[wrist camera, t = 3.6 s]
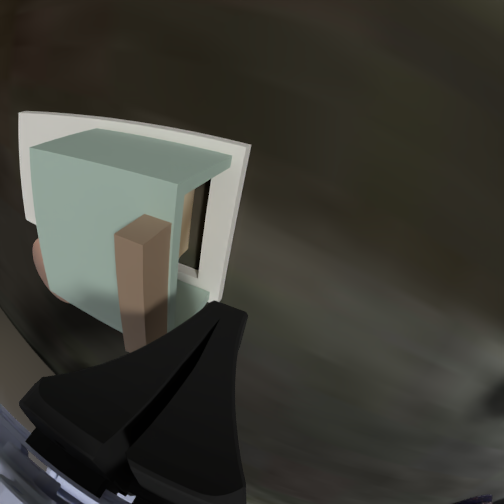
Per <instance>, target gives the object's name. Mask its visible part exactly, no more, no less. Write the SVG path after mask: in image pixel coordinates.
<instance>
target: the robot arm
mask: <svg viewBox="0 0 504 504" xmlns="http://www.w3.org/2000/svg"><path fill="white" fill-rule="evenodd" d="M247 318H248V315H247V313H246V312H244V311H241V310H239V309H236V308H233V307H231V306H228V305H226V304H223V303H220V302H218V301H215V300H214V301H211V302H210V303H209V304H208V305H206V306H205V307H204V308H203V309H201V310H200V311H199V312H197V313H196V314H195V315H193V316H192V317H191V318H189V319H188V320H186V321H185V322H183V323H182V324H180V325H179V326H177V327H176V328H174V329H173V330H171V331H170V332H168V333H166V334H165V335H163V336H161V337H160V338H158V339H156V340H154V341H153V342H151V343H149V344H147V345H145V346H143V347H141V348H139V349H137V350H135V351H133V352H131V353H129V354H126V355H124V356H121V357H119V358H116V359H114V360H111V361H109V362H106V363H103V364H100V365H97V366H93V367H90V368H86V369H82V370H79V371H75V372H71V373H65V374H60V375H54V376H48V377H42V378H41V379H40V380H39V381H38V382H37V383H35V384H34V386H33V387H32V388H31V389H30V390H29V391H28V392H27V394H26V395H25V396H24V397H23V398H22V399H21V400H20V402H19V406H20V408H21V409H22V410H23V412H24V413H25V414H26V416H27V417H28V418H29V419H30V421H31V422H32V423H33V424H34V425H35V427H36V429H35V430H34V431H33V432H32V433H30V432H29V431H28V430H27V429H26V428H25V427H24V426H22V425H21V424H20V423H19V422H18V421H17V420H16V419H15V418H14V417H13V416H12V415H11V414H10V413H9V412H8V411H7V410H6V409H5V408H4V407H3V406H2V405H1V404H0V504H246V482H245V478H244V473H243V468H242V463H241V457H240V451H239V445H238V435H237V426H236V413H235V374H236V361H237V353H238V350H239V347H240V344H241V340H242V336H243V333H244V329H245V325H246V321H247ZM27 449H28V450H29V451H30V452H31V453H32V454H33V455H34V456H36V457H37V458H38V459H39V460H40V461H41V462H43V463H44V464H45V465H46V466H47V471H46V472H45V471H44V470H43V469H41V468H40V467H39V466H38V465H37V464H35V463H34V462H33V461H32V460H31V459H30V458H29V457H28V450H27Z"/></svg>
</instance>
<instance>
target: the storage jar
mask: <svg viewBox="0 0 504 504" xmlns="http://www.w3.org/2000/svg"><path fill="white" fill-rule="evenodd" d="M455 504H493V503H492V495H481V496H477V497H473V498H470V499H466V500H463V501H460V502H458V503H455Z"/></svg>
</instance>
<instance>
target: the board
mask: <svg viewBox="0 0 504 504" xmlns="http://www.w3.org/2000/svg"><path fill="white" fill-rule="evenodd" d="M95 128H99V129H105V130H112V131H118V132H124V133H129V134H135V135H141V136H146V137H151V138H156V139H161V140H166V141H171V142H176V143H181V144H185V145H190V146H194V147H199V148H203V149H207V150H212V151H216V152H220V153H224V154H228V155H232V161H231V166H230V168H228V169H227V170H225V171H223V172H222V173H220V174H218V175H216V176H215V177H213V178H211V184H210V191H209V197H208V204H207V211H206V218H205V226H204V233H203V241H202V248H201V256H200V264H199V270H196V269H194V268H191V267H188V266H186V265H183V264H180V263H178V275H177V279H178V280H180V281H183V282H185V283H188V284H190V285H193V286H195V287H198V288H201V289H203V290H206V291H208V292H210V295H209V300H208V301H207V302H211V301H214V300H215V301H218V302H220V300H221V299H222V294H223V289H224V283H225V278H226V272H227V267H228V261H229V256H230V251H231V245H232V240H233V235H234V229H235V224H236V219H237V214H238V209H239V204H240V199H241V194H242V188H243V183H244V178H245V173H246V169H247V164H248V159H249V154H250V149H251V145H250V144H246V143H242V142H238V141H233V140H229V139H225V138H220V137H216V136H211V135H207V134H202V133H197V132H192V131H187V130H182V129H177V128H171V127H166V126H160V125H154V124H148V123H142V122H135V121H129V120H121V119H114V118H106V117H97V116H88V115H78V114H67V113H54V112H36V111H24V112H20V113H19V158H20V172H21V184H22V193H23V201H24V209H25V216H26V220H28V221H30V222H32V223H34V224H36V218H35V211H34V202H33V193H32V183H31V170H30V150H29V147H32V146H35V145H38V144H41V143H45V142H48V141H51V140H54V139H58V138H61V137H65V136H68V135H72V134H75V133H79V132H83V131H87V130H91V129H95Z"/></svg>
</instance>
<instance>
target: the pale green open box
mask: <svg viewBox="0 0 504 504" xmlns="http://www.w3.org/2000/svg"><path fill="white" fill-rule="evenodd" d="M29 150H30V170H31V183H32V193H33V202H34V211H35V218H36V225H37V231H38V237H39V243H40V248H41V253H42V258H43V263H44V267H45V272H46V276H47V280H48V284H49V288H50V291H52V292H53V293H55V294H57V295H58V296H60V297H61V298H63V299H64V300H66V301H68V302H69V303H71V304H73V305H74V306H76V307H77V308H79V309H81V310H83V311H84V312H86V313H88V314H89V315H91V316H93V317H95V318H96V319H98V320H100V321H102V322H103V323H105V324H107V325H109V326H111V327H112V328H114V329H116V330H118V331H120V332H122V333H123V337H124V343H125V350H126V351H128V352H130V353H131V352H133V351H135V350H137V349H139V348H141V347H143V346H145V345H147V344H149V343H151V342H153V341H154V340H156V339H158V338H160V337H161V336H163V335H165V334H166V333H168V332H170V331H171V330H173V329H174V328H176V327H177V326H179V325H180V324H182V323H183V322H185V321H186V320H188V319H189V318H191V317H192V316H193V315H195V314H196V313H197V312H199V311H200V310H201V309H202V308H203V307H204V305H205V304H206V303H207V301H208V300H209V295H210V292H208V291H206V290H203V289H201V288H198V287H195V286H193V285H190V284H188V283H185V282H183V281H180V280H178V279H177V275H178V261H179V248H180V236H181V225H182V215H183V205H184V196H185V195H186V194H187V193H189V192H190V191H192V190H194V189H195V188H197V187H198V186H200V185H202V184H203V183H205V182H207V181H208V180H210V179H211V178H213V177H215V176H216V175H218V174H220V173H222V172H223V171H225V170H227V169H228V168H230V166H231V161H232V155H228V154H224V153H220V152H216V151H212V150H207V149H203V148H199V147H194V146H190V145H185V144H181V143H176V142H171V141H166V140H161V139H156V138H151V137H146V136H141V135H135V134H129V133H124V132H118V131H112V130H105V129H99V128H95V129H91V130H87V131H83V132H79V133H75V134H72V135H68V136H65V137H61V138H58V139H54V140H51V141H48V142H45V143H41V144H38V145H35V146H32V147H29Z"/></svg>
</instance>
